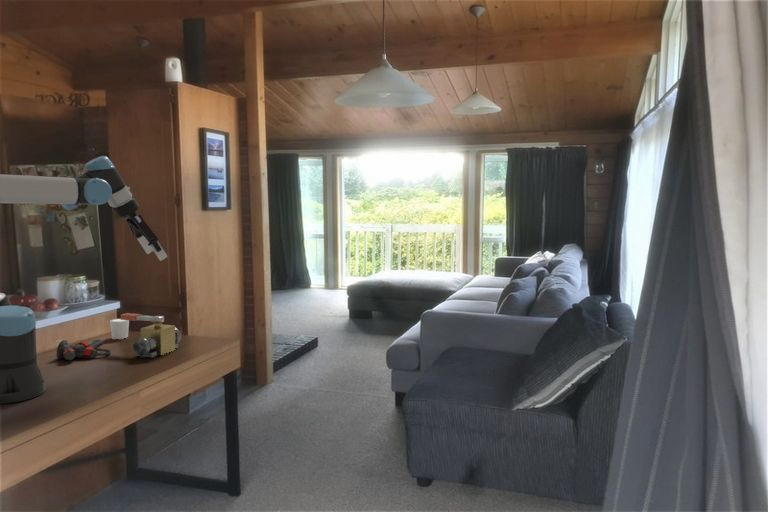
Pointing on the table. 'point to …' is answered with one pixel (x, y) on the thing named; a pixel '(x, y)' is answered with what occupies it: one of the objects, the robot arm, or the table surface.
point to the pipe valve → (157, 340)
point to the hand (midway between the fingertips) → (157, 255)
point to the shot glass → (119, 328)
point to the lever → (141, 317)
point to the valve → (80, 350)
